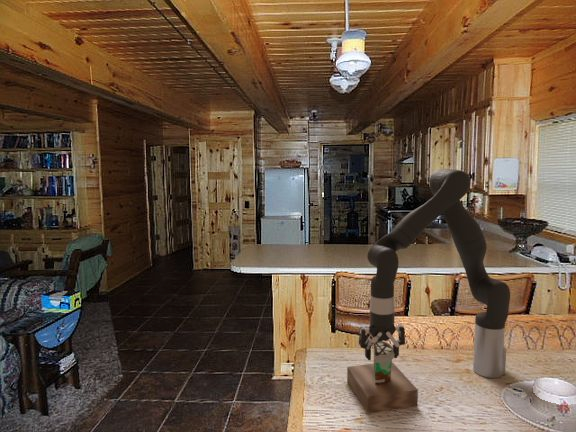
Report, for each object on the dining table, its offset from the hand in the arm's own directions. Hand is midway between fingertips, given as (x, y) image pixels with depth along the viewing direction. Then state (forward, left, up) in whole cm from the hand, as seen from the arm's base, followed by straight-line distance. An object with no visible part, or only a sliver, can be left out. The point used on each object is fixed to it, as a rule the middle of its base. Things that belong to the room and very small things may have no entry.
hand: (381, 358), depth 132 cm
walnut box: (0, 0, -13) cm, 13 cm away
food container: (-1, 0, -7) cm, 7 cm away
